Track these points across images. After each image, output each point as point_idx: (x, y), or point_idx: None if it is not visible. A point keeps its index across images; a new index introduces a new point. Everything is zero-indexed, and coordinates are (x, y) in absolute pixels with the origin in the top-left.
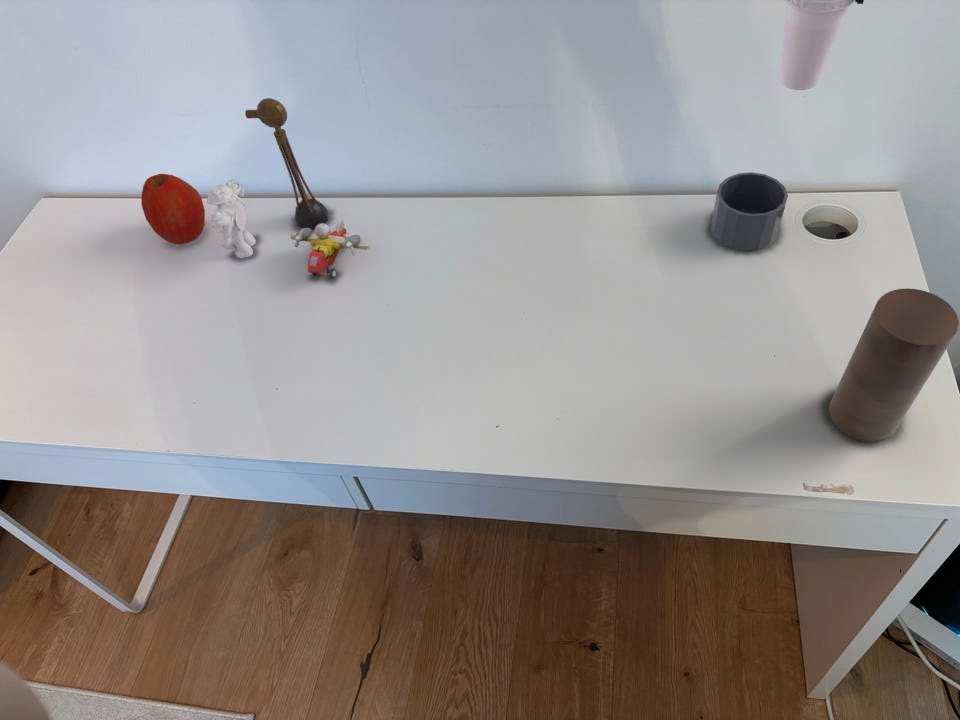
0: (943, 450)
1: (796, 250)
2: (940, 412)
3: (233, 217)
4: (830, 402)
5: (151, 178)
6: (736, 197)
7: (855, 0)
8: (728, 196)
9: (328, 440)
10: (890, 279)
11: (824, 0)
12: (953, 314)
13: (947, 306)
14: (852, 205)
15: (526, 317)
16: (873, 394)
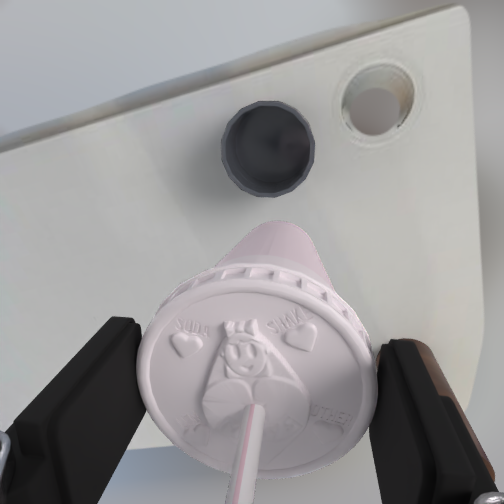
0: (467, 380)
1: (337, 167)
2: (472, 347)
3: None
4: (377, 360)
5: None
6: (250, 111)
7: (370, 437)
8: (239, 121)
9: None
10: (446, 191)
11: (271, 466)
12: (490, 474)
13: (486, 465)
14: (409, 54)
15: (99, 322)
16: None
